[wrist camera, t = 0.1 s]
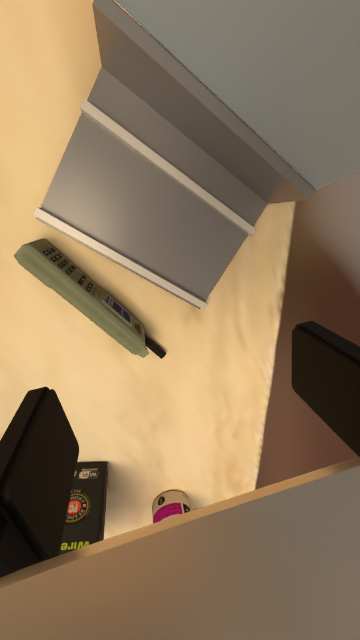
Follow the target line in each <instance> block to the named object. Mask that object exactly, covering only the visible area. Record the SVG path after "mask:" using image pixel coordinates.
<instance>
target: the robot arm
mask: <svg viewBox="0 0 360 640" xmlns="http://www.w3.org/2000/svg"><path fill="white" fill-rule="evenodd" d="M292 387H293V389H294V391H295V392H296V393H297V394H298V395H299V396H300V397H301V398H302V399H303V400H304V401H305V402H306V403H307V404H308V405H309V407H310V408H312V410H313V411H315V413H316V414H317V415H318V416H319V417H320V418H321V419H322V420H323V421H324V422H325V423H326V424H327V425H328V426H329V427H330V428H331V429H332V430H333V431H334V432H335V433H336V434H337V435H338V436H339V437H340V438H341V439H342V440H343V441H344V442H345V443H346V444H347V445H348V446H349V447H350V448H351V449H352V450H353V451H354V452H355V453H356V454H357V455H358V456H359V457H357V458H354V459H351V460H348V461H345V462H341V463H338V464H335V465H332V466H329V467H326V468H323V469H319V470H316V471H313V472H310V473H307V474H304V475H301V476H297V477H294V478H291V479H288V480H285V481H282V482H279V483H276V484H273V485H270V486H267V487H263V488H260V489H257V490H254V491H251V492H248V493H245V494H242V495H239V496H236V497H233V498H230V499H227V500H223V501H220V502H217V503H214V504H211V505H208V506H205V507H202V508H199V509H196V510H193V511H190V512H187V513H184V514H181V515H178V516H175V517H172V518H169V519H166V520H163V521H160V522H157V523H154V524H151V525H148V526H145V527H142V528H139V529H136V530H133V531H130V532H126V533H123V534H120V535H117V536H114V537H111V538H108V539H105V540H102V541H99V542H96V543H94V544H91V545H88V546H85V547H82V548H79V549H76V550H74V551H71V552H68V553H65V554H62V555H59V552H60V547H61V542H62V537H63V532H64V527H65V521H66V516H67V511H68V506H69V501H70V496H71V491H72V486H73V480H74V475H75V470H76V465H77V460H78V455H79V445H78V442H77V440H76V437H75V435H74V433H73V431H72V428H71V426H70V424H69V421H68V419H67V417H66V415H65V412H64V410H63V408H62V406H61V403H60V401H59V399H58V397H57V394H56V392H55V391H54V390H53V389H51V390H49V388H48V387H42V388H38V389H34V390H30V391H28V393H27V394H26V396H25V398H24V399H23V401H22V403H21V405H20V407H19V408H18V410H17V412H16V414H15V416H14V417H13V419H12V421H11V423H10V424H9V426H8V428H7V430H6V432H5V433H4V435H3V437H2V439H1V441H0V640H360V347H359V346H357V345H355V344H354V343H352V342H350V341H348V340H346V339H344V338H343V337H341V336H339V335H337V334H335V333H334V332H331V331H330V330H328V329H326V328H324V327H322V326H321V325H319V324H317V323H315V322H313V321H308V322H304V323H300V324H297V325H296V327H295V329H293V331H292Z"/></svg>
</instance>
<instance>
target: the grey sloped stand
mask: <svg viewBox="0 0 360 640" xmlns="http://www.w3.org/2000/svg"><path fill="white" fill-rule="evenodd" d="M93 11H94V18H95V24H96V31H97V38H98V44H99V51H100V58H101V64H102V68H101V70H100V72H99V74H98V77H97V79H96V81H95V84H94V86H93V88H92V91H91V93H90V95H89V97H88V100H85V99H83V101H82V104H81V106H80V109H81V111H82V113H81V116H80V118H79V120H78V123H77V125H76V127H75V130H74V132H73V134H72V136H71V139H70V141H69V143H68V146H67V148H66V150H65V153H64V155H63V157H62V159H61V162H60V164H59V166H58V169H57V171H56V173H55V176H54V178H53V180H52V182H51V185H50V187H49V189H48V192H47V194H46V196H45V199H44V201H43V203H42V205H41V208H36V210H35V213H34V216H36V219H37V220H39V221H41V222H43V223H44V224H46V225H48V226H50V227H52V228H54V229H55V230H57V231H59V232H61V233H63V234H64V235H66V236H68V237H70V238H72V239H73V240H75V241H77V242H79V243H81V244H83V245H84V246H86V247H88V248H90V249H92V250H93V251H95V252H97V253H99V254H101V255H102V256H104V257H106V258H108V259H110V260H111V261H113V262H115V263H117V264H119V265H121V266H122V267H124V268H126V269H128V270H130V271H131V272H133V273H135V274H137V275H139V276H140V277H142V278H144V279H146V280H148V281H150V282H151V283H153V284H155V285H157V286H159V287H160V288H162V289H164V290H166V291H168V292H169V293H171V294H173V295H175V296H177V297H179V298H180V299H182V300H184V301H186V302H188V303H189V304H191V305H193V306H195V307H197V308H198V309H201V308H202V309H205V308H206V306H207V305H208V304H207V303H206V302H205V301H206V299H207V298H208V296H209V294H210V293H211V291H212V290H213V288H214V287H215V285H216V284H217V282H218V280H219V279H220V277H221V276H222V274H223V273H224V271H225V270H226V268H227V266H228V265H229V263H230V262H231V260H232V259H233V257H234V256H235V254H236V252H237V251H238V249H239V248H240V246H241V245H242V243H243V241H244V240H245V238H246V237H247V235H253V234H254V232H255V230H256V229H255V228H254V227H253V226H254V224H255V223H256V221H257V220H258V218H259V217H260V215H261V213H262V212H263V210H264V209H265V207H266V206H267V204H270V203H280V202H291V201H302V200H309V199H310V198H311V196H312V194H313V193H314V192H315V189H314V188H313V187H312V186H311V185H310V184H309V183H308V182H306V181H305V180H304V179H303V178H302V177H301V176H300V175H299V174H298V173H297V172H296V171H295V170H294V169H293V168H292V167H291V166H289V165H288V164H287V163H286V162H285V161H284V160H283V159H282V158H281V157H280V156H279V155H278V154H277V153H276V152H275V151H273V150H272V149H271V148H270V147H269V146H268V145H267V144H266V143H265V142H264V141H263V140H262V139H261V138H260V137H259V136H257V135H256V134H255V133H254V132H253V131H252V130H251V129H250V128H249V127H248V126H247V125H246V124H245V123H244V122H243V121H241V120H240V119H239V118H238V117H237V116H236V115H235V114H234V113H233V112H232V111H231V110H230V109H229V108H228V107H227V106H225V105H224V104H223V103H222V102H221V101H220V100H219V99H218V98H217V97H216V96H215V95H214V94H213V93H212V92H211V91H209V90H208V89H207V88H206V87H205V86H204V85H203V84H202V83H201V82H200V81H199V80H198V79H197V78H196V77H195V76H193V75H192V74H191V73H190V72H189V71H188V70H187V69H186V68H185V67H184V66H183V65H182V64H181V63H180V62H179V61H177V60H176V59H175V58H174V57H173V56H172V55H171V54H170V53H169V52H168V51H167V50H166V49H165V48H164V47H163V46H161V45H160V44H159V43H158V42H157V41H156V40H155V39H154V38H153V37H152V36H151V35H150V34H149V33H148V32H147V31H145V30H144V29H143V28H142V27H141V26H140V25H139V24H138V23H137V22H136V21H135V20H134V19H133V18H132V17H131V16H129V15H128V14H127V13H126V12H125V11H124V10H123V9H122V8H121V7H120V6H119V5H118V4H117V3H116V2H115V1H113V0H94V2H93Z"/></svg>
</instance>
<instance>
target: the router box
mask: <svg viewBox="0 0 360 640" xmlns="http://www.w3.org/2000/svg"><path fill="white" fill-rule="evenodd" d="M107 464H108V463H107V462H100V463H77V465H76V470H75V475H74V480H73V486H72V491H71V496H70V501H69V506H68V511H67V516H66V521H65V527H64V532H63V537H62V542H61V547H60V552H59V555H62V554H65V553H68V552H71V551H74V550H76V549H79V548H82V547H85V546H88V545H91V544H94V543H96V542H99V541H102V540H103V539H104V525H105V510H106V495H107V485H108V470H107Z"/></svg>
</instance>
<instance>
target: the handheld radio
mask: <svg viewBox="0 0 360 640" xmlns="http://www.w3.org/2000/svg"><path fill="white" fill-rule="evenodd" d="M14 257H15V258H16V260H17V261H18V263H19V264H20V265H21V266H23V267H24V268H25V269H26V270H28V271H29V272H30V273H31V274H33V275H34V276H35V277H36V278H37V279H39V280H40V281H41V282H42V283H44V284H45V285H46V286H47V287H49V288H52V289H53V290H54V291H55V292H57V293H58V294H59V295H60V296H62V297H63V298H64V299H65V300H67V301H68V302H69V303H70V304H72V305H73V306H74V307H75V308H77V309H78V310H79V311H80V312H82V313H83V314H84V315H85V316H86V317H88V318H89V319H90V320H91V321H93V322H94V323H95V324H96V325H98V326H99V327H100V328H101V329H103V330H104V331H105V332H106V333H108V334H109V335H110V336H111V337H112V338H114V339H115V340H116V341H117V342H119V343H120V344H121V345H122V346H124V347H125V348H126V349H127V350H129V351H130V352H131V353H132V354H135V355H137V354H138V355H139V356H141V357H143V358H144V357H145V356H146V355H147V354H149V352H148V351H147V348H146V346H147V347H148V348H149V349H150V350H152V351H153V352H154V353H155V354H156V355H157V356H159V357H160V358H163V357H164V356H165V355H166V352H164V351H163V350H162V349H161V348H160V347H159V346H158V345H156V344H155V343H154V342H153V341H152V340H151V339H149V338H148V337H146V335H145V334H144V327H143V325H142V324H141V323H140V322H138V321H137V320H136V319H135V318H134V317H133V316H132V315H131V314H130V313H129V312H128V311H127V310H126V309H124V308H123V307H122V306H121V305H120V304H119V303H118V302H117V301H115V300H114V299H113V298H112V297H111V296H110V295H109V294H108V293H107V292H105V291H104V290H103V289H102V288H100V287H99V286H98V285H97V284H96V283H95V282H94V281H92V280H91V279H90V278H89V277H88V276H87V275H86V274H84V273H83V272H82V271H81V270H80V269H79V268H78V267H77V266H75V265H74V264H73V263H72V262H71V261H70V260H69V259H67V258H66V257H65V256H64V255H63V254H62V253H61V252H59V251H58V250H57V249H56V248H55V247H54V246H53V245H51V244H50V243H49V242H48V241H47V240H46V239H40V240H37V241H34V242H31V243H27V244H24V245H22V246H21V248H20V249H19V250H18V251H17V252H16V253H15V254H14Z"/></svg>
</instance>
